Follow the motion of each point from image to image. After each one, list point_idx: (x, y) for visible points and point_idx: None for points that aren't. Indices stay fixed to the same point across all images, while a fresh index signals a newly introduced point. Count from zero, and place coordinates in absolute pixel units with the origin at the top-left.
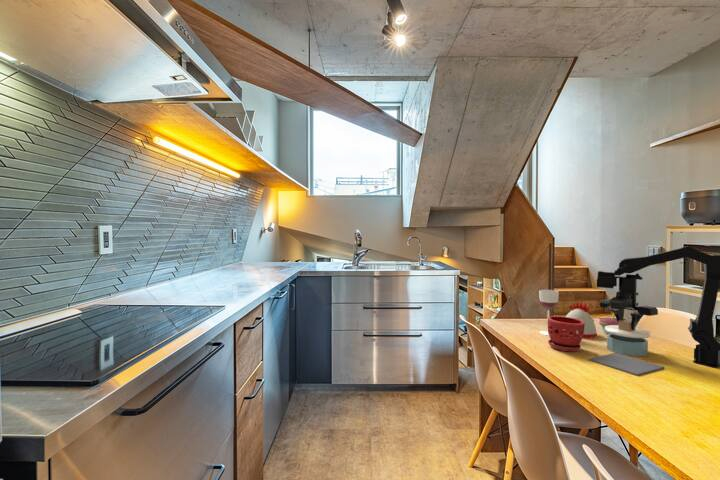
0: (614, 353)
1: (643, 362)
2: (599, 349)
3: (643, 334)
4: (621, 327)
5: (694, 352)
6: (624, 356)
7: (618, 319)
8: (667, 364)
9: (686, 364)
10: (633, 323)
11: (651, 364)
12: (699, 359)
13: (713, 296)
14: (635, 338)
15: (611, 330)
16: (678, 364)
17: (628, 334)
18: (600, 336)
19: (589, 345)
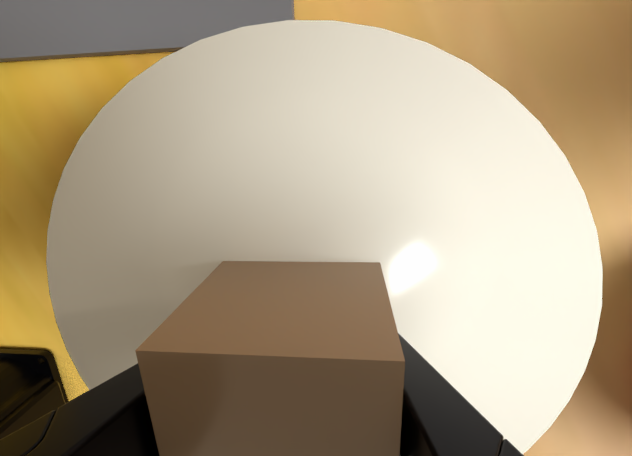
0: (282, 5)
1: (54, 5)
2: (441, 44)
3: (65, 281)
4: (330, 277)
5: (15, 414)
6: (199, 10)
7: (444, 428)
8: (43, 180)
9: (31, 284)
10: (98, 390)
11: (11, 20)
12: (14, 375)
13: None
14: None
15: (378, 44)
16: (36, 243)
17: (123, 96)
18: (622, 412)
19: (559, 75)
